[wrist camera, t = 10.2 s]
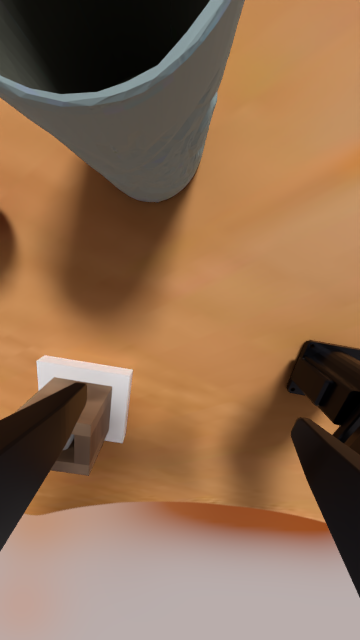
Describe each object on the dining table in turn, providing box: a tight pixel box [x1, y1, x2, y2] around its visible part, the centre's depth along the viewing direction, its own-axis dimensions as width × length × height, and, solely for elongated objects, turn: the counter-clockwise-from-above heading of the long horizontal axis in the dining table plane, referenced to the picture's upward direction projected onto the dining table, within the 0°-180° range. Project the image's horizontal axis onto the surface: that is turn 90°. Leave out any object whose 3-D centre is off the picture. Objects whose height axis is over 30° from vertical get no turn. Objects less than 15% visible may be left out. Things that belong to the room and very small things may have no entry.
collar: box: [15, 377, 112, 476], centre depth 19 cm, size 6×6×5 cm
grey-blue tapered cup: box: [0, 0, 245, 202], centre depth 9 cm, size 10×10×12 cm
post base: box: [37, 355, 133, 450], centre depth 20 cm, size 10×10×6 cm
